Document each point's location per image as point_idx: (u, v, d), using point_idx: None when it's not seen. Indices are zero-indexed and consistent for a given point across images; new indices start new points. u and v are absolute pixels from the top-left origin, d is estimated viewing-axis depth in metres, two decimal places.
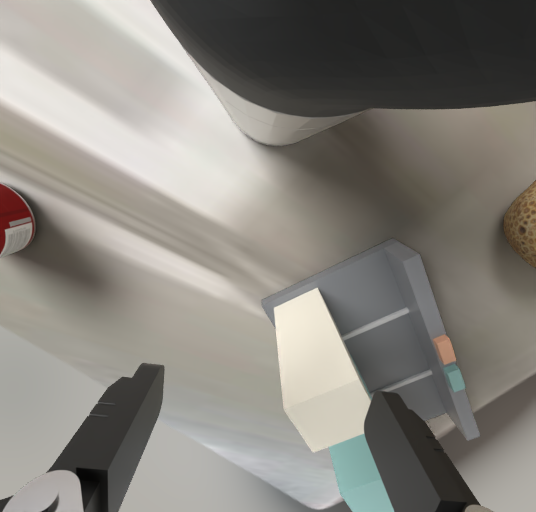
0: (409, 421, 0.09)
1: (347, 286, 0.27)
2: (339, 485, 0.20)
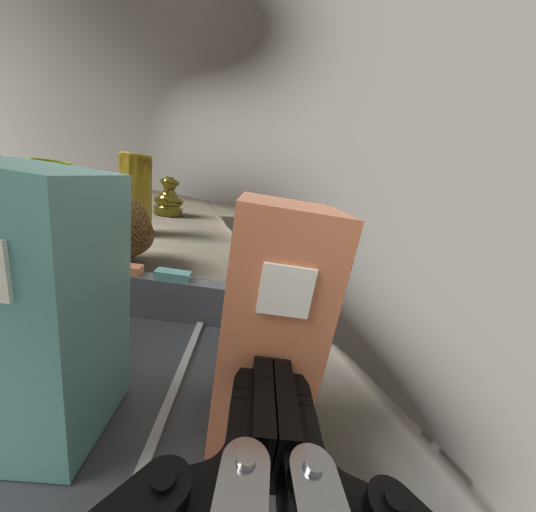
0: (287, 381, 0.09)
1: None
2: None
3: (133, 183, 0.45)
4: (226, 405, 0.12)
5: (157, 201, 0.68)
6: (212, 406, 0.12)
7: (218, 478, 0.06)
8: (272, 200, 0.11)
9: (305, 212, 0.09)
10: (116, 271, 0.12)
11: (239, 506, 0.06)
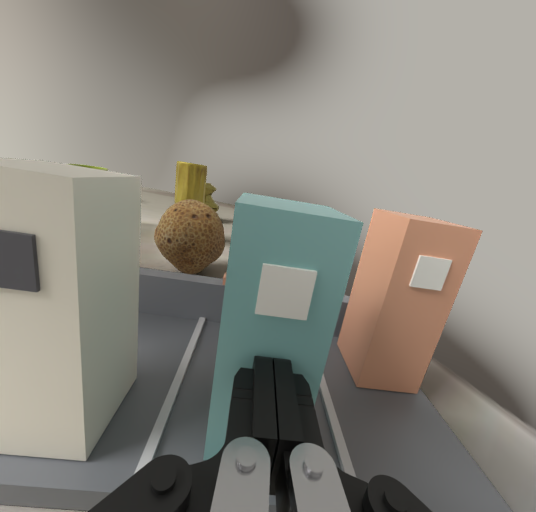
0: (287, 381, 0.09)
1: None
2: (234, 215, 0.09)
3: (191, 192, 0.47)
4: (379, 348, 0.18)
5: None
6: (369, 349, 0.18)
7: (218, 478, 0.06)
8: (410, 216, 0.18)
9: (448, 225, 0.15)
10: None
11: (239, 506, 0.06)
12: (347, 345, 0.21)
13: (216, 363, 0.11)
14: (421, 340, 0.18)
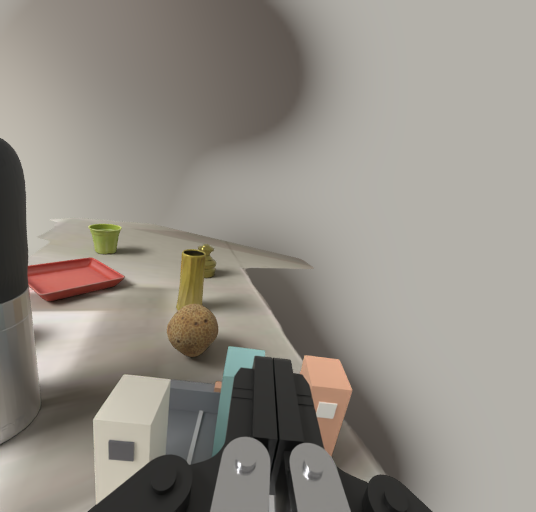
0: (287, 381, 0.09)
1: None
2: None
3: (193, 276, 0.60)
4: None
5: None
6: None
7: (218, 478, 0.06)
8: (319, 371, 0.31)
9: (333, 388, 0.29)
10: None
11: (239, 506, 0.06)
12: None
13: (216, 423, 0.30)
14: (326, 442, 0.31)
